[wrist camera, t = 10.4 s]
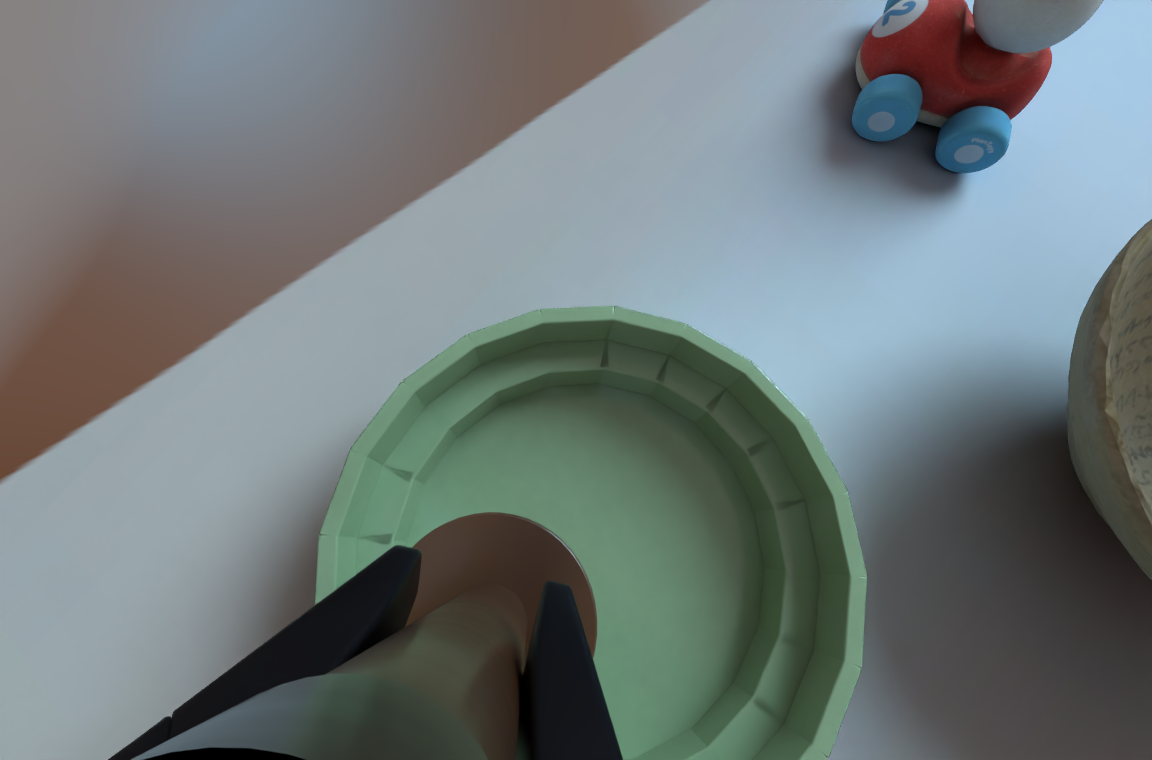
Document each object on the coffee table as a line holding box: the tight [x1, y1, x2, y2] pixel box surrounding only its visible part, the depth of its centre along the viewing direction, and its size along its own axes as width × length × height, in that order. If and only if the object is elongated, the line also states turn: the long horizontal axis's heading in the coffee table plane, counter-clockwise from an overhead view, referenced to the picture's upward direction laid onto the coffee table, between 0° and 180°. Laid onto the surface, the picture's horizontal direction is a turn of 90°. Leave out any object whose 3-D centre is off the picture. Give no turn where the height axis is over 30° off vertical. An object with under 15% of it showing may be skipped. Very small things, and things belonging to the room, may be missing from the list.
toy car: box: [852, 0, 1103, 173], centre depth 25 cm, size 9×9×10 cm
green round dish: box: [315, 306, 867, 760], centre depth 19 cm, size 17×17×4 cm
